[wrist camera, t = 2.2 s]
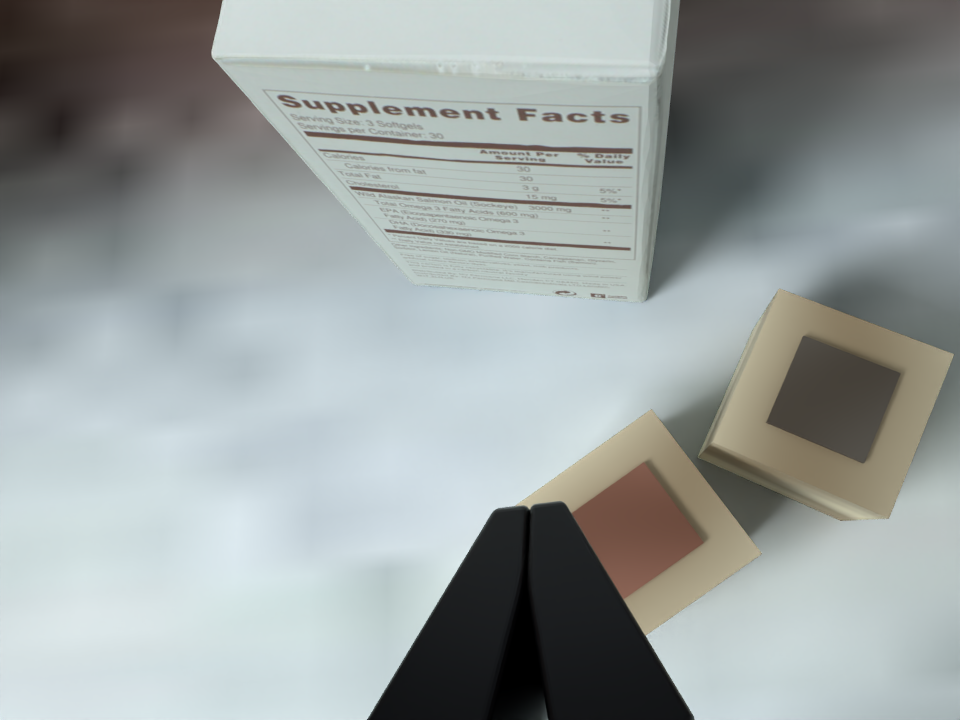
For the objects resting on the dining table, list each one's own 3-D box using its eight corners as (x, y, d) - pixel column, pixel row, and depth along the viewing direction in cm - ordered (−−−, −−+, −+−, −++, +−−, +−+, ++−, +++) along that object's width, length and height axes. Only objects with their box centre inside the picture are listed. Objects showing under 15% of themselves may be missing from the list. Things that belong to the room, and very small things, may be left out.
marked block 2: (894, 386, 21) (957, 352, 17) (840, 520, 21) (890, 518, 17) (752, 330, 22) (780, 286, 18) (697, 457, 22) (713, 441, 18)
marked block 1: (736, 549, 21) (763, 553, 17) (616, 633, 21) (615, 658, 17) (646, 429, 22) (651, 408, 18) (532, 510, 22) (512, 507, 18)
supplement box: (442, 77, 26) (281, -327, 14) (673, 85, 24) (722, -359, 12) (405, 291, 24) (191, 56, 12) (647, 314, 23) (674, 72, 11)
